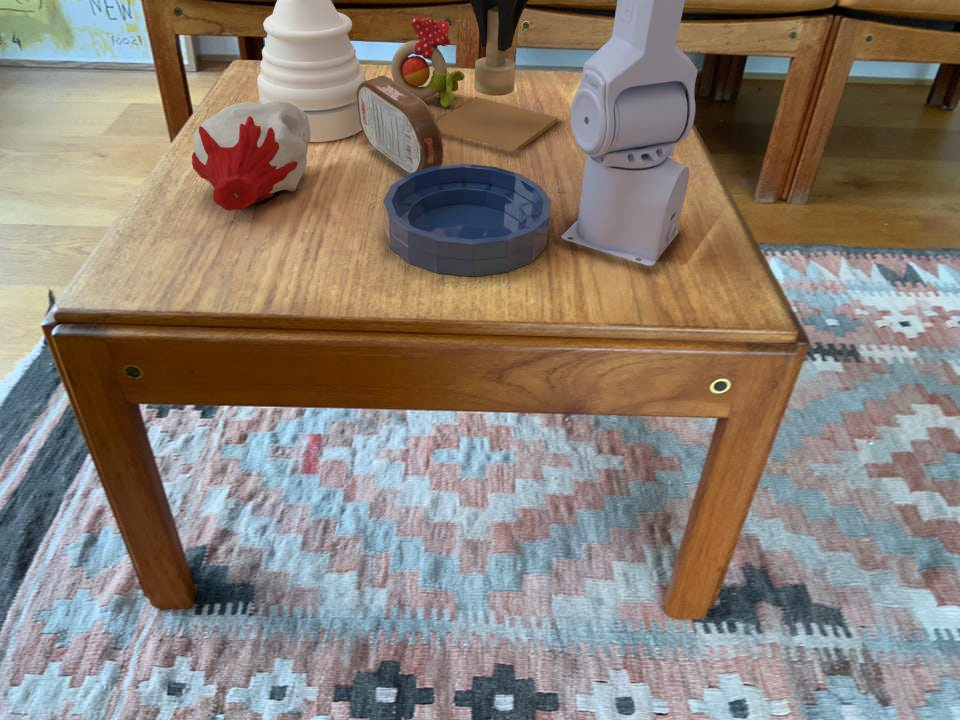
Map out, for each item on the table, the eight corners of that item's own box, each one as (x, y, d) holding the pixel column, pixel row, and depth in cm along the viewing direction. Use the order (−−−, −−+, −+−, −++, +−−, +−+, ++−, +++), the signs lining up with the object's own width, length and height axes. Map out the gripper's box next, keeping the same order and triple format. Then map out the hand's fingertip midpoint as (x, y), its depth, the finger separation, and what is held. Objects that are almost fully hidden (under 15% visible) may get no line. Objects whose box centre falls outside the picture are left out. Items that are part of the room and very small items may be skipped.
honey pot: (370, 140, 93) (361, -24, 81) (259, 143, 91) (234, -24, 80) (366, 100, 103) (357, -52, 91) (265, 102, 101) (244, -53, 89)
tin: (445, 185, 85) (446, 109, 79) (420, 192, 83) (419, 115, 78) (378, 135, 94) (374, 64, 89) (354, 141, 93) (349, 69, 87)
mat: (557, 122, 99) (557, 117, 99) (513, 155, 91) (513, 150, 91) (475, 101, 104) (475, 96, 103) (426, 131, 96) (426, 126, 95)
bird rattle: (408, 126, 102) (472, 101, 99) (369, 44, 95) (437, 15, 93) (412, 108, 107) (474, 84, 104) (376, 29, 100) (441, 1, 98)
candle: (315, 158, 87) (303, 241, 77) (212, 157, 86) (185, 241, 76) (307, 81, 81) (292, 161, 71) (195, 79, 80) (163, 160, 70)
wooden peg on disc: (521, 86, 95) (526, 8, 89) (502, 98, 92) (506, 18, 86) (486, 78, 97) (489, 1, 91) (466, 90, 93) (469, 10, 88)
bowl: (572, 226, 79) (577, 189, 76) (498, 300, 68) (500, 261, 66) (441, 186, 84) (441, 151, 82) (353, 249, 74) (350, 211, 71)
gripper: (581, -83, 83) (567, 49, 91) (463, -100, 88) (460, 26, 96) (552, -72, 78) (540, 66, 86) (429, -91, 83) (429, 41, 92)
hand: (496, 46), depth 91 cm, fingers closed on wooden peg on disc
